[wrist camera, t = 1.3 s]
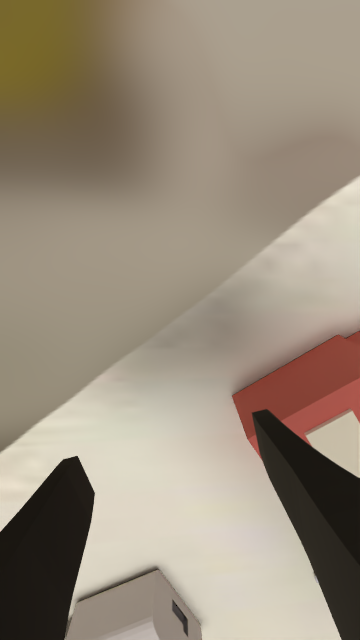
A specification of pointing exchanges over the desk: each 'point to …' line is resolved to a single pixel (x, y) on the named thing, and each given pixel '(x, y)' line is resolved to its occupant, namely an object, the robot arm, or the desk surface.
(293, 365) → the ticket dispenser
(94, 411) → the desk surface
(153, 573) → the charger
